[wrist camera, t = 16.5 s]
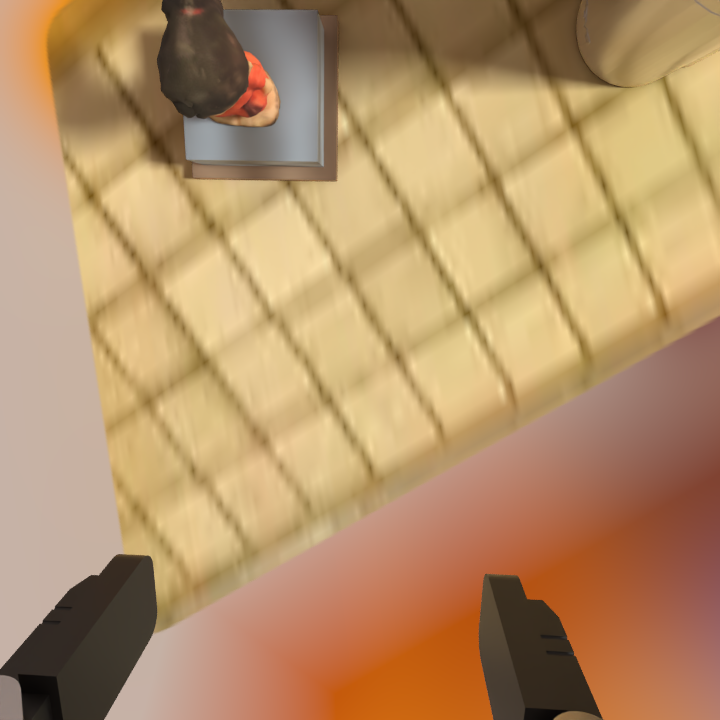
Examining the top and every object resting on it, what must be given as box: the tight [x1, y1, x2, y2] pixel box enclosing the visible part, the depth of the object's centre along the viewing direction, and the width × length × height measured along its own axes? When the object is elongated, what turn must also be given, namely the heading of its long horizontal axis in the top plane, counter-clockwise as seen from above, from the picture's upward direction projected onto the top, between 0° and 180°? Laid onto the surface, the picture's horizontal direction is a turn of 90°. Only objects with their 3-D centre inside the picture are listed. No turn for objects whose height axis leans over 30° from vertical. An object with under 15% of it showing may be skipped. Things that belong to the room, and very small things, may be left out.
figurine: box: [157, 0, 281, 127], centre depth 33 cm, size 6×6×12 cm
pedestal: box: [183, 10, 339, 181], centre depth 41 cm, size 12×12×5 cm
